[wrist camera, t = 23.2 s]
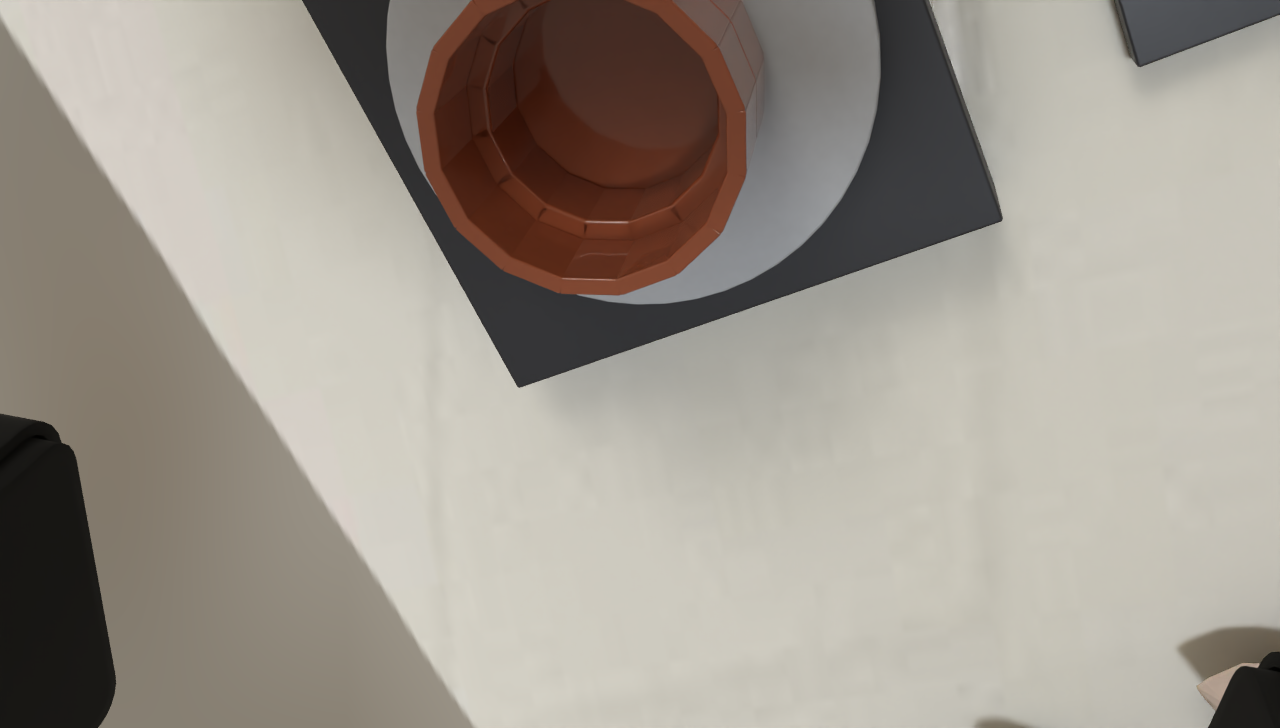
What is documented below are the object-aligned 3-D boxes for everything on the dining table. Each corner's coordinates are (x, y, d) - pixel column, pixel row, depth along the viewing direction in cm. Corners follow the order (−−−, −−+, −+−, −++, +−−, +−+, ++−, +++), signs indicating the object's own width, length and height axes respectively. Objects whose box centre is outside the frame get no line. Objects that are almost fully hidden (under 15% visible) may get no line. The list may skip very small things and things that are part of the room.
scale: (295, -97, 31) (238, -79, 28) (797, -372, 26) (787, -383, 24) (538, 351, 36) (510, 403, 34) (995, 188, 32) (1007, 233, 29)
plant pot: (437, 2, 28) (358, 53, 24) (695, -123, 26) (659, -92, 22) (564, 249, 31) (513, 335, 27) (810, 154, 29) (798, 231, 24)
